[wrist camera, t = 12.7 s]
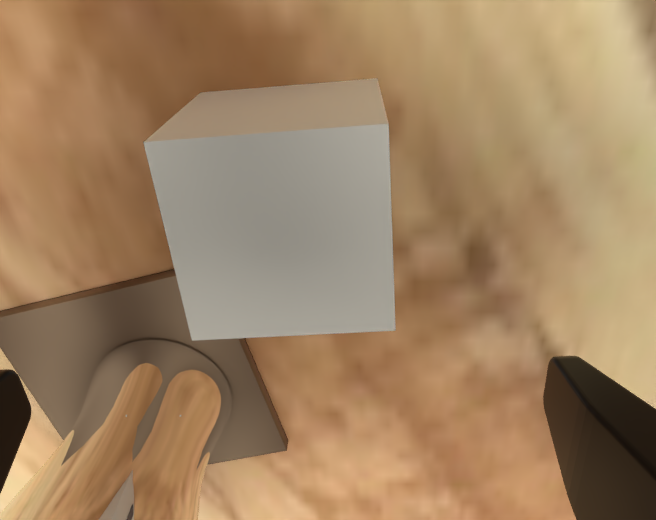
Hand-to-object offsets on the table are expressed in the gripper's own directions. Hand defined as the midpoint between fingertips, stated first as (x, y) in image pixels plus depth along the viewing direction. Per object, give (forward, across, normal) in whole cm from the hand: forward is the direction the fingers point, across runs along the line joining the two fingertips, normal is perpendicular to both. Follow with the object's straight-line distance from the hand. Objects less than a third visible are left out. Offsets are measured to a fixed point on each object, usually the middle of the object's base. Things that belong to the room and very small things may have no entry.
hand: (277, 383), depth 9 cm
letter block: (+12, +1, 0) cm, 12 cm away
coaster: (+12, +8, +10) cm, 17 cm away
